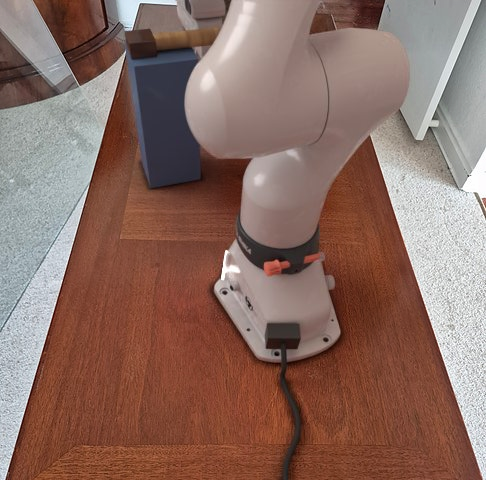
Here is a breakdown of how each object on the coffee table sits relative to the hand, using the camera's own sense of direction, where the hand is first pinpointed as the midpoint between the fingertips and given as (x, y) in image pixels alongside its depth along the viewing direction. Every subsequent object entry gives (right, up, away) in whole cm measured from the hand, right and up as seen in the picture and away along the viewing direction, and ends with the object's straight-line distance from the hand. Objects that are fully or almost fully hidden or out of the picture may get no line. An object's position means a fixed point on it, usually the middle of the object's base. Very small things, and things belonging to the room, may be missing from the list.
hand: (197, 59), depth 99 cm
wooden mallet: (+1, -10, -25) cm, 27 cm away
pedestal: (-5, -26, -7) cm, 27 cm away
